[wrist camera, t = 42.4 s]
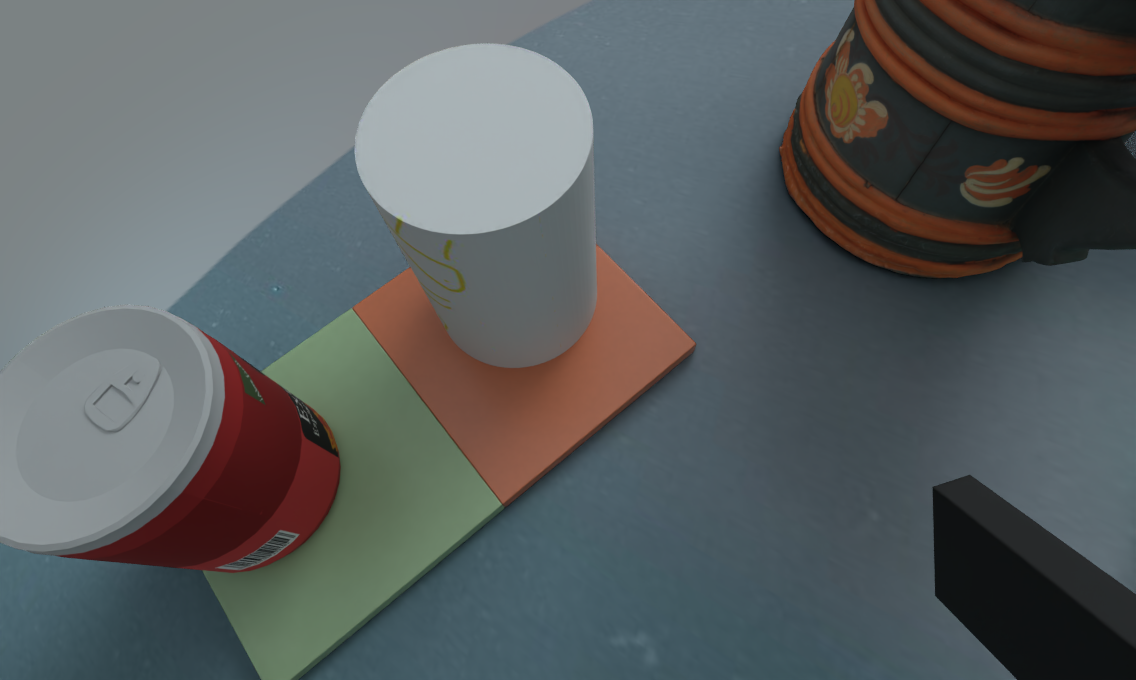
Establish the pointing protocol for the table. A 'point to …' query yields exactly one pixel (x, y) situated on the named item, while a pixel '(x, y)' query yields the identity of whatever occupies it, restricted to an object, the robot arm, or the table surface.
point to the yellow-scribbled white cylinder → (489, 196)
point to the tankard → (970, 134)
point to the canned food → (156, 448)
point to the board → (429, 451)
